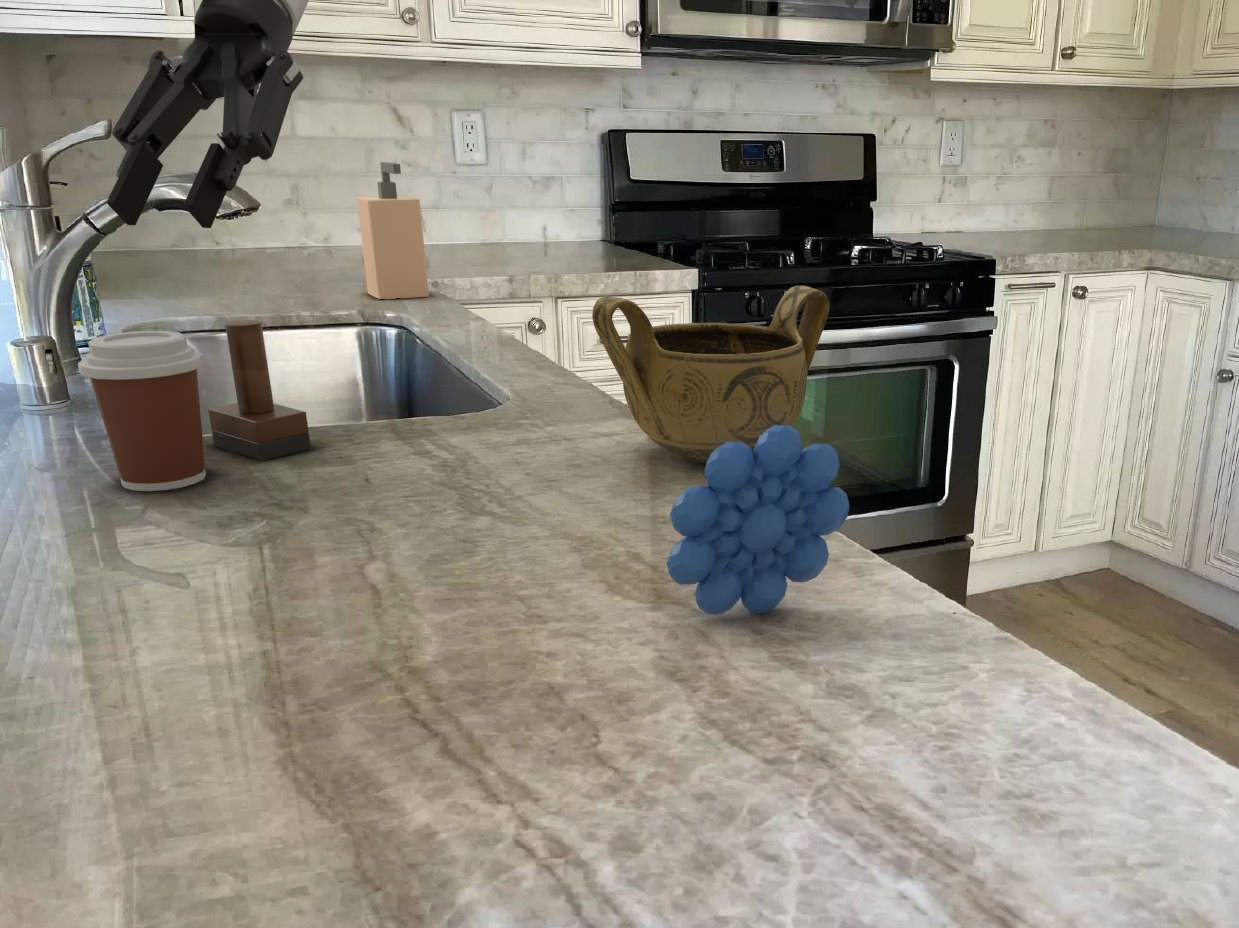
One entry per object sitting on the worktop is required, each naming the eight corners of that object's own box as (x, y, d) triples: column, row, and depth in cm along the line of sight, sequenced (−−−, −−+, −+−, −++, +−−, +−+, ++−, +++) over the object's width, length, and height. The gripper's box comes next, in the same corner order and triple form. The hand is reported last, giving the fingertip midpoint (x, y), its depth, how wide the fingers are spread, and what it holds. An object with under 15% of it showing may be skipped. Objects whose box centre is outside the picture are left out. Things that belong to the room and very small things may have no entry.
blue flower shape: (820, 577, 76) (825, 403, 72) (859, 616, 70) (868, 429, 66) (652, 597, 73) (647, 415, 69) (678, 639, 67) (675, 444, 63)
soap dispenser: (367, 293, 199) (352, 161, 191) (416, 290, 203) (403, 161, 195) (384, 303, 189) (369, 164, 181) (435, 299, 193) (423, 163, 185)
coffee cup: (132, 465, 100) (105, 328, 95) (238, 463, 100) (216, 328, 96) (82, 496, 91) (50, 348, 87) (199, 495, 92) (172, 347, 87)
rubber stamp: (214, 446, 106) (192, 321, 101) (263, 435, 109) (244, 314, 105) (261, 461, 101) (241, 331, 97) (311, 449, 105) (294, 323, 101)
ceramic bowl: (645, 497, 92) (640, 312, 87) (567, 448, 106) (558, 285, 100) (866, 460, 103) (873, 293, 98) (769, 420, 117) (771, 271, 111)
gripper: (369, 47, 103) (288, 249, 94) (181, 47, 106) (87, 242, 97) (329, -26, 96) (238, 185, 87) (130, -23, 100) (24, 179, 91)
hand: (159, 215), depth 92 cm, fingers open, 6 cm apart
